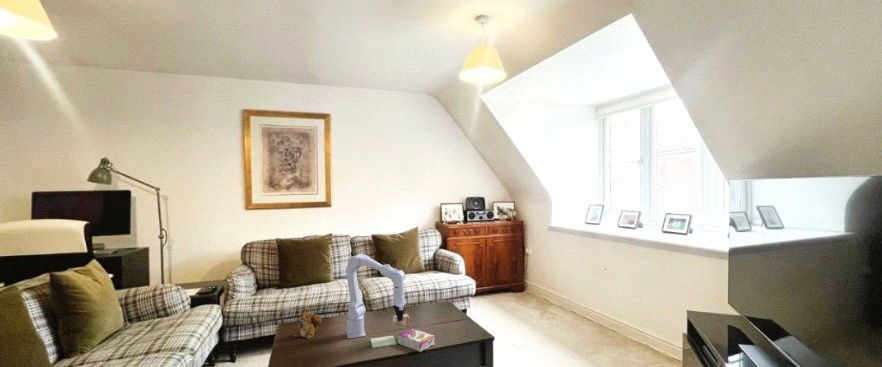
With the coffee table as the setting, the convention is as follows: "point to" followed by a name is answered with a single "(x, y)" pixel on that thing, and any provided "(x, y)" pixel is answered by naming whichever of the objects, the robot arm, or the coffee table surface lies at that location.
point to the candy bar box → (416, 339)
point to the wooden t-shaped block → (404, 321)
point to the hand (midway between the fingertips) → (399, 319)
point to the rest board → (383, 341)
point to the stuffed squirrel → (308, 325)
